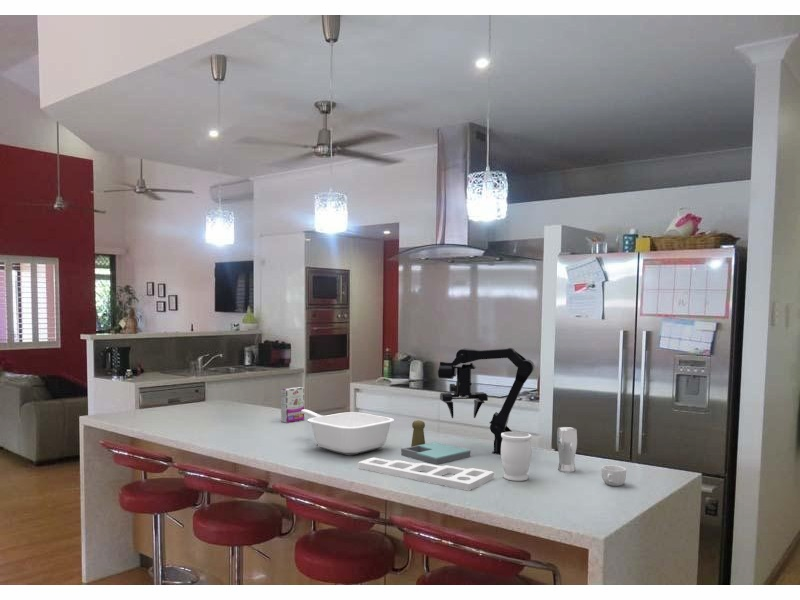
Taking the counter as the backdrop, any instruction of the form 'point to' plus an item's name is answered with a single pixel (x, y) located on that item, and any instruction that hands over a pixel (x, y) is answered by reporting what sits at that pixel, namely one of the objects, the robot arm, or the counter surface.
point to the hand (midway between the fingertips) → (463, 418)
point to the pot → (349, 431)
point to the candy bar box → (292, 404)
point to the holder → (430, 472)
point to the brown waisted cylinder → (418, 433)
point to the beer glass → (566, 448)
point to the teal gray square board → (435, 452)
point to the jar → (516, 455)
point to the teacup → (613, 475)
